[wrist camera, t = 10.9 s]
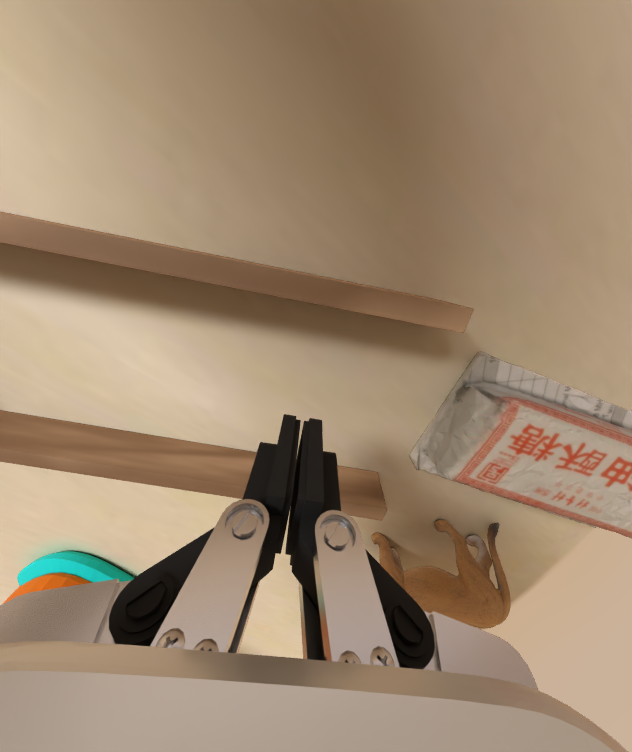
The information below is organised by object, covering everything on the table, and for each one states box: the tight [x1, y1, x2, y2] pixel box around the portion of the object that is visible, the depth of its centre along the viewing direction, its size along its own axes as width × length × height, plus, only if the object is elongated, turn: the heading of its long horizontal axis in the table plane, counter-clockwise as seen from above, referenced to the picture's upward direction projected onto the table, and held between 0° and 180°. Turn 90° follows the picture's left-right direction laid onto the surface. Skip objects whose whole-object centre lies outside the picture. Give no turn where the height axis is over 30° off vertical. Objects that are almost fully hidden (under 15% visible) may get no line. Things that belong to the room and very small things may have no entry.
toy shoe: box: [3, 551, 134, 604], centre depth 23 cm, size 12×20×15 cm, turn 34°
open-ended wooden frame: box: [0, 212, 474, 520], centre depth 16 cm, size 15×35×4 cm, turn 79°
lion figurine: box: [372, 520, 510, 628], centre depth 20 cm, size 15×5×9 cm, turn 117°
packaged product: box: [409, 352, 632, 538], centre depth 17 cm, size 18×5×10 cm
